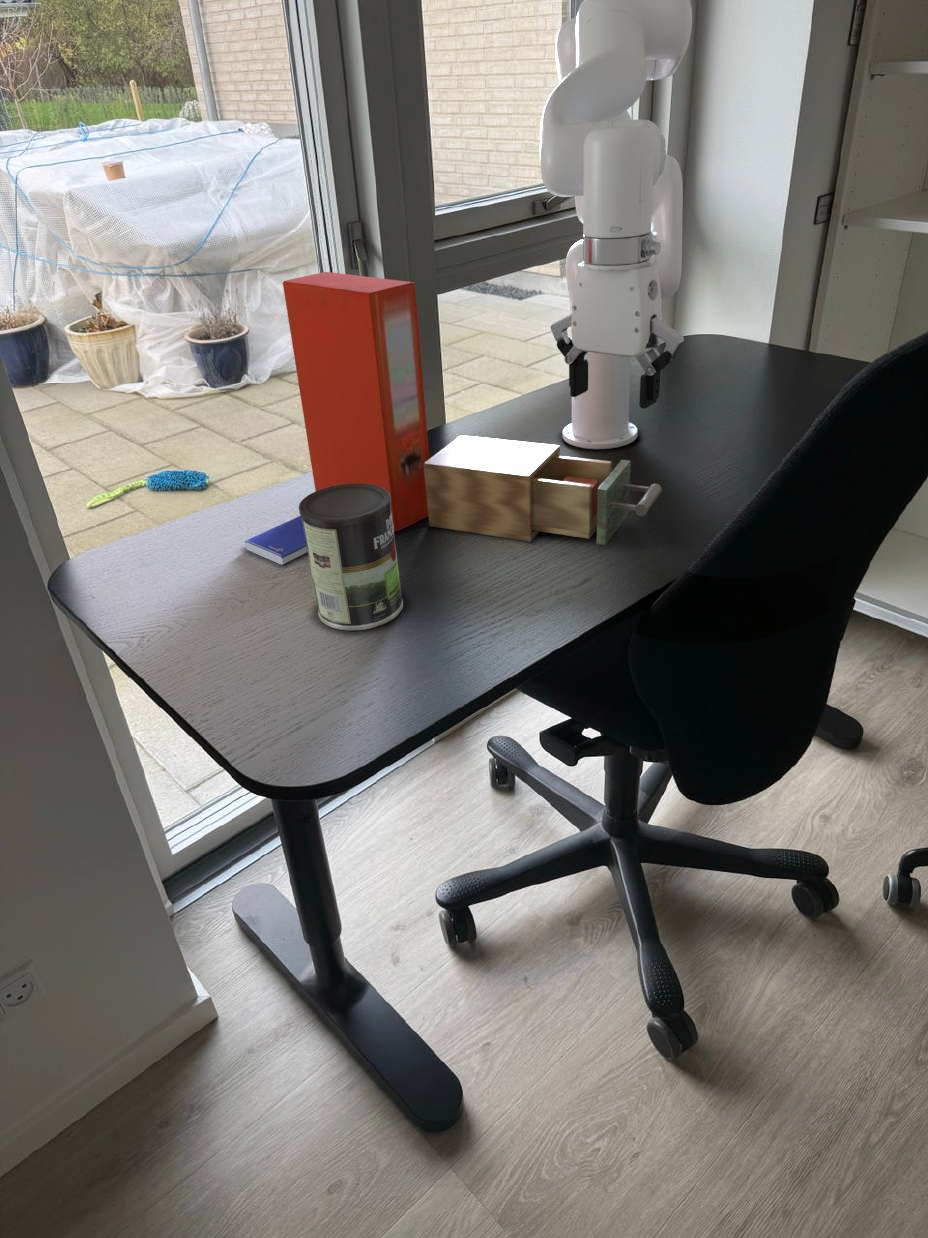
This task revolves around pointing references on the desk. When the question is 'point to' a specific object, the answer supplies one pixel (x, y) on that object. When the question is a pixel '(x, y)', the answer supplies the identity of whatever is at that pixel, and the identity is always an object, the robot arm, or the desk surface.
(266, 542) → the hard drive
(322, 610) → the coffee can
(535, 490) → the drawer
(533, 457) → the cabinet
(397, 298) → the file binder
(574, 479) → the block
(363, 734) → the desk surface
